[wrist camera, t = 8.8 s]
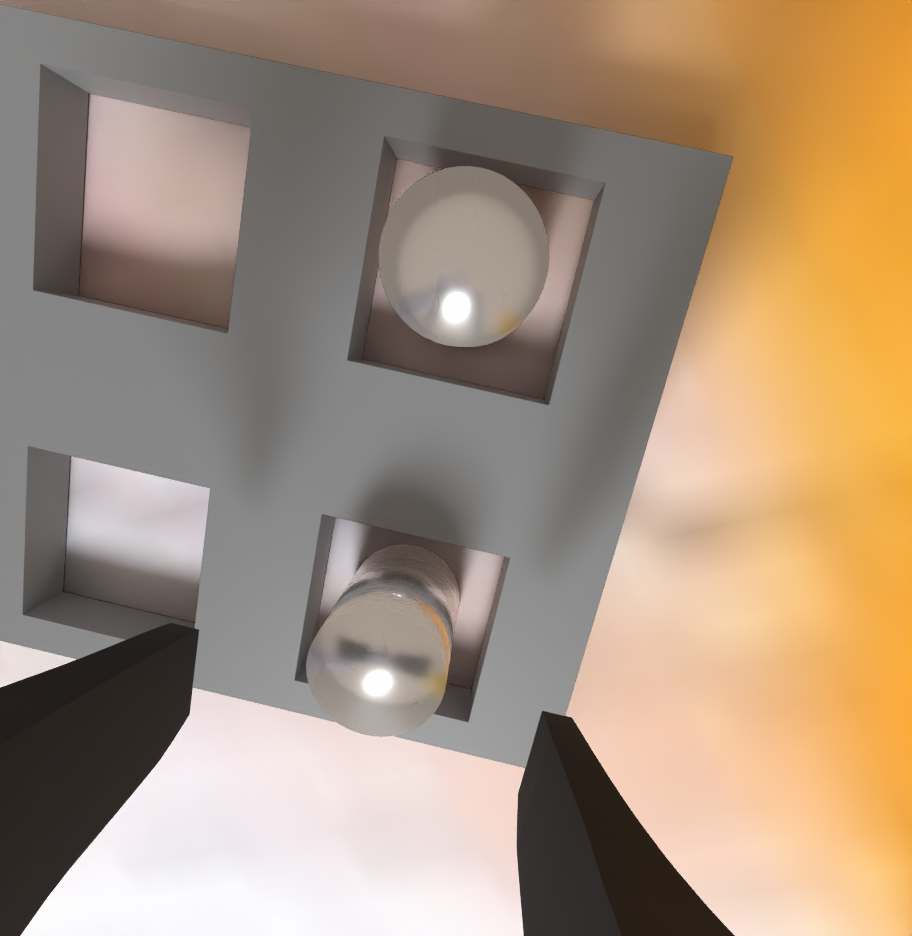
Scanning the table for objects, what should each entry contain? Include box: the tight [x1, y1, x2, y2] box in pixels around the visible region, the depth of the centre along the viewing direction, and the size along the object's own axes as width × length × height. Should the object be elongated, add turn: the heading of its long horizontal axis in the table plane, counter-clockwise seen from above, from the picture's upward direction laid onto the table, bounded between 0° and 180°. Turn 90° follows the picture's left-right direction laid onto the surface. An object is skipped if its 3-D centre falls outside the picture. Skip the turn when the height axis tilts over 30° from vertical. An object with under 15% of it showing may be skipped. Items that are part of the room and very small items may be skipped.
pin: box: [379, 166, 549, 347], centre depth 12 cm, size 3×3×4 cm
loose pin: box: [306, 544, 460, 737], centre depth 14 cm, size 3×3×4 cm
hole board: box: [0, 4, 733, 768], centre depth 15 cm, size 18×16×2 cm
